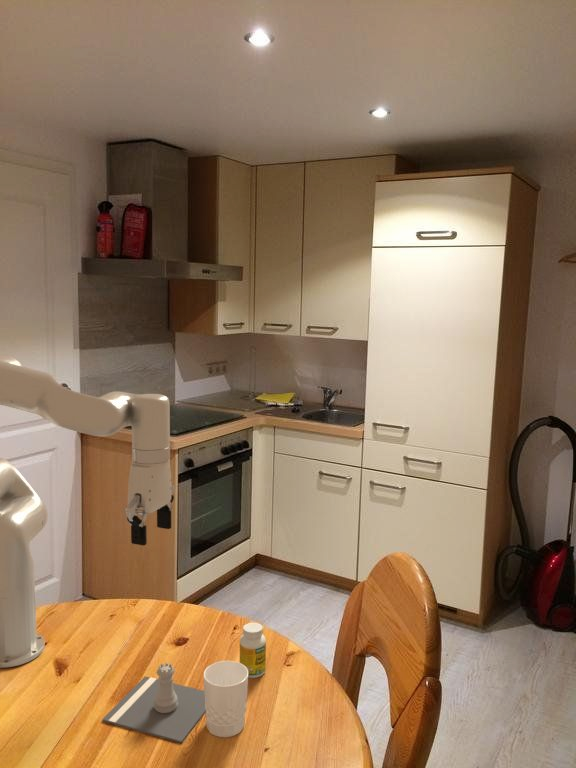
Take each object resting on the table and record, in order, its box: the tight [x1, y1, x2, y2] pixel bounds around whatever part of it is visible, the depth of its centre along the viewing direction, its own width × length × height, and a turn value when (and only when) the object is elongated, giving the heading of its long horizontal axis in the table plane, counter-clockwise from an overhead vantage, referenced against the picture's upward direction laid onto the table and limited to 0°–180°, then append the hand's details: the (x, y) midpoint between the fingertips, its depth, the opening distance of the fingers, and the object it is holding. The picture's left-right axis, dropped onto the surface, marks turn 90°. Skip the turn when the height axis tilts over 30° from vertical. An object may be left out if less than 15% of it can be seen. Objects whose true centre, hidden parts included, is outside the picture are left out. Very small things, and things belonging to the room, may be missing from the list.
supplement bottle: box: [239, 622, 267, 679], centre depth 130 cm, size 5×5×10 cm
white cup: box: [203, 660, 249, 738], centre depth 114 cm, size 8×8×10 cm
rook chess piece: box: [154, 662, 178, 714], centre depth 118 cm, size 4×4×8 cm
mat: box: [102, 676, 206, 744], centre depth 118 cm, size 16×14×1 cm
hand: (152, 535), depth 133 cm, fingers open, 9 cm apart
